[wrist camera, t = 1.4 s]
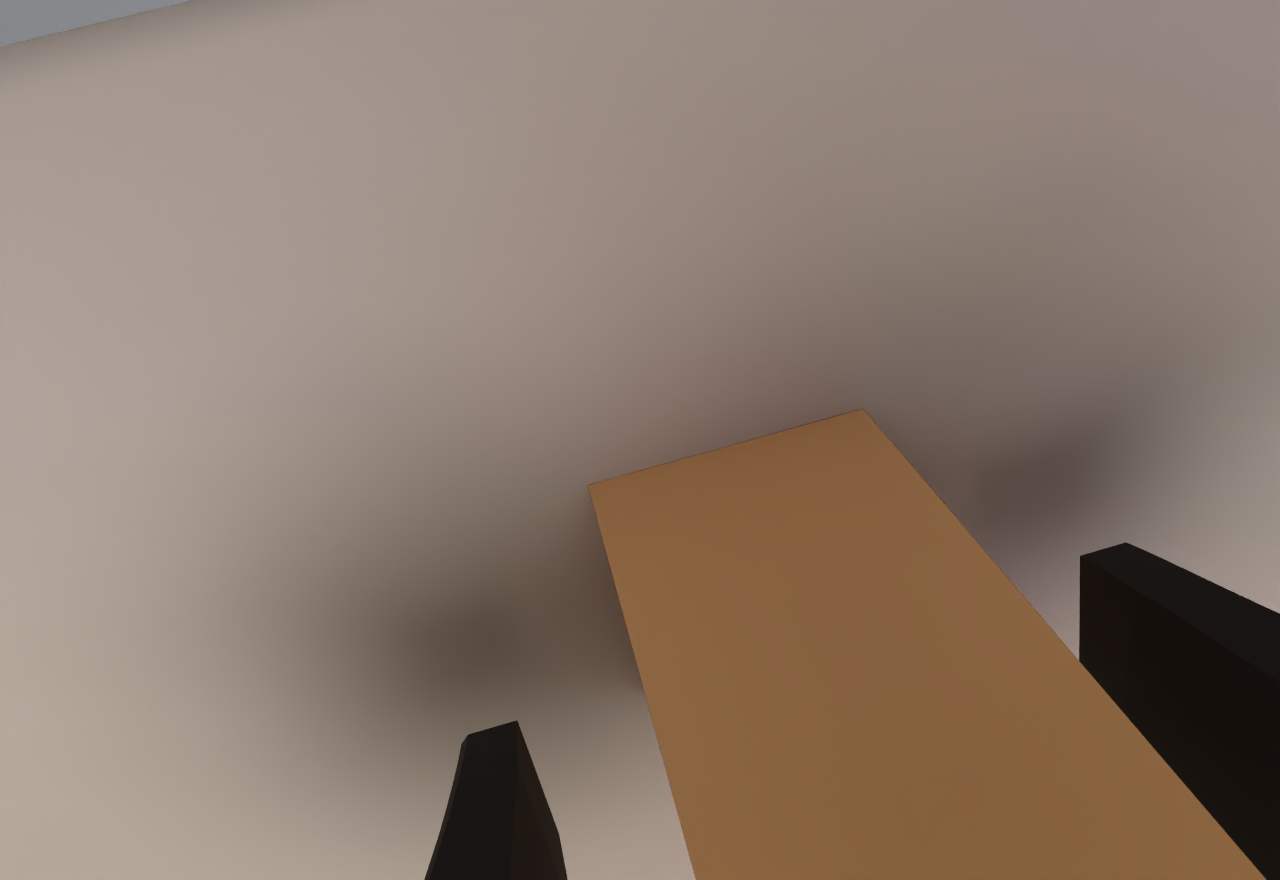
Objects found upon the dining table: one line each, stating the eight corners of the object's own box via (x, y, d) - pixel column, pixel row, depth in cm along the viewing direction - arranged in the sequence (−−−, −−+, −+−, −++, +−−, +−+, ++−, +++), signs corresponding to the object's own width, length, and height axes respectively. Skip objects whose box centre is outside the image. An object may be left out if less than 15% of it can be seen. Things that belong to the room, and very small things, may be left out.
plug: (863, 408, 14) (1272, 884, 7) (888, 625, 16) (1229, 1163, 9) (587, 485, 14) (742, 1051, 7) (646, 696, 16) (812, 1301, 9)
